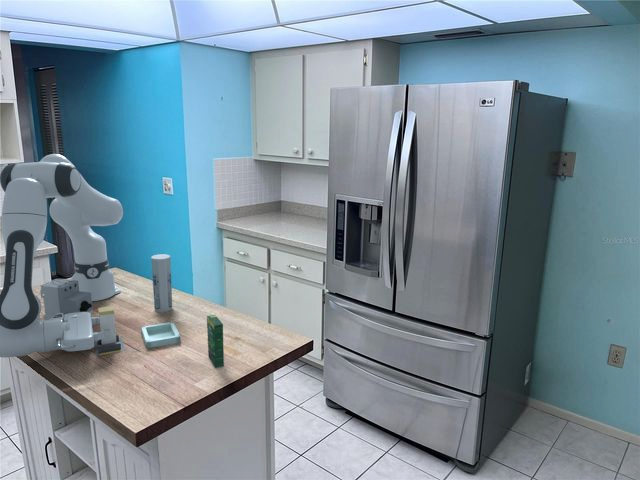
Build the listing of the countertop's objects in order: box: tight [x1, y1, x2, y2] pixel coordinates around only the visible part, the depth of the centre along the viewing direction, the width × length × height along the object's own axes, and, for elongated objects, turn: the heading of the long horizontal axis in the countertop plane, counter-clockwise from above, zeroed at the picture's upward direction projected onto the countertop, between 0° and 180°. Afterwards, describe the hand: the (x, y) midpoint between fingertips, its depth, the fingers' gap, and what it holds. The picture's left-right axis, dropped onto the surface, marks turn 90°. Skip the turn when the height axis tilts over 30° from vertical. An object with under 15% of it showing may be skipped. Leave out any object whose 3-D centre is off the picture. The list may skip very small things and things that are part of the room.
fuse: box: [97, 305, 117, 345], centre depth 141 cm, size 4×4×12 cm
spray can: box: [150, 253, 173, 313], centre depth 171 cm, size 6×6×20 cm
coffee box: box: [206, 314, 225, 369], centre depth 135 cm, size 8×3×13 cm, turn 27°
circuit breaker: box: [39, 277, 94, 321], centre depth 154 cm, size 8×14×15 cm, turn 78°
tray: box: [141, 321, 181, 349], centre depth 149 cm, size 12×10×3 cm
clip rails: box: [93, 333, 126, 357], centre depth 142 cm, size 10×8×2 cm
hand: (109, 326), depth 141 cm, fingers open, 8 cm apart
